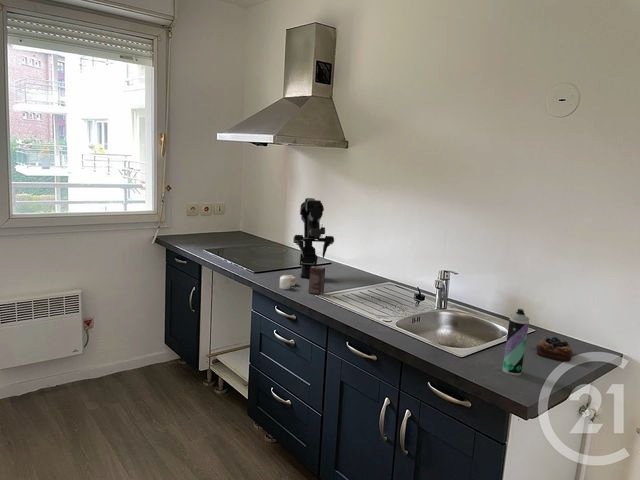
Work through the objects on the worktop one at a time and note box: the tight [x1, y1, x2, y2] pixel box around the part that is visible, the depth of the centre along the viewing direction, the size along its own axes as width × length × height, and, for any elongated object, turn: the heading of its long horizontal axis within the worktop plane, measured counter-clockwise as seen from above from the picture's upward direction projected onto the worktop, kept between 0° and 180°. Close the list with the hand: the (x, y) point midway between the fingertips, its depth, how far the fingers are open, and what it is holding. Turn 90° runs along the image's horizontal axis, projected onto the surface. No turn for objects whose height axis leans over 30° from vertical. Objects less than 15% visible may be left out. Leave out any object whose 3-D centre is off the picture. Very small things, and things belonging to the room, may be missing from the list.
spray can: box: [502, 308, 530, 376], centre depth 147 cm, size 6×6×20 cm
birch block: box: [281, 274, 296, 287], centre depth 231 cm, size 5×5×4 cm
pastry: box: [536, 336, 573, 363], centre depth 165 cm, size 11×12×6 cm
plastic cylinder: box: [279, 275, 291, 290], centre depth 224 cm, size 5×5×5 cm
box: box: [308, 266, 326, 296], centre depth 219 cm, size 6×4×12 cm
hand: (313, 257), depth 225 cm, fingers open, 9 cm apart
